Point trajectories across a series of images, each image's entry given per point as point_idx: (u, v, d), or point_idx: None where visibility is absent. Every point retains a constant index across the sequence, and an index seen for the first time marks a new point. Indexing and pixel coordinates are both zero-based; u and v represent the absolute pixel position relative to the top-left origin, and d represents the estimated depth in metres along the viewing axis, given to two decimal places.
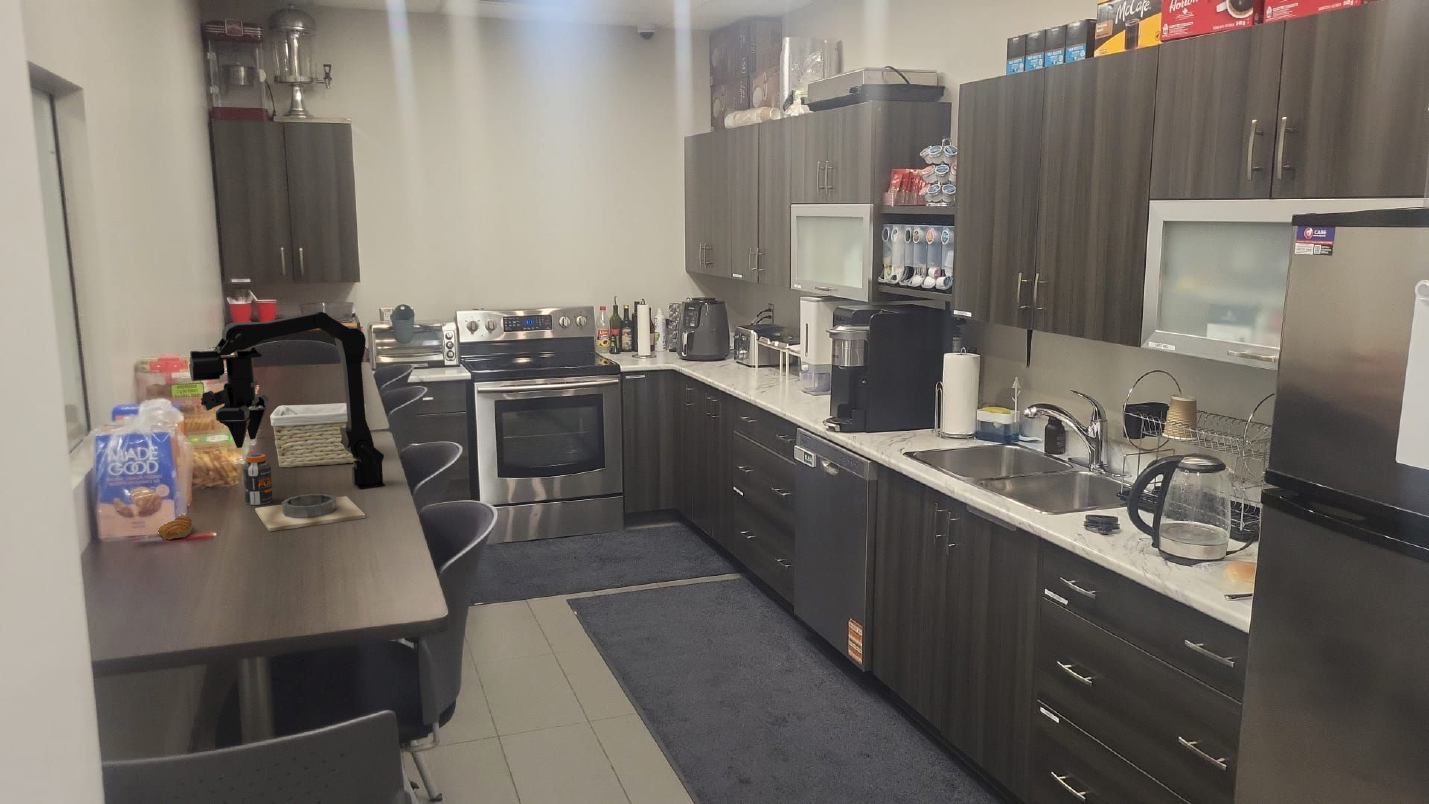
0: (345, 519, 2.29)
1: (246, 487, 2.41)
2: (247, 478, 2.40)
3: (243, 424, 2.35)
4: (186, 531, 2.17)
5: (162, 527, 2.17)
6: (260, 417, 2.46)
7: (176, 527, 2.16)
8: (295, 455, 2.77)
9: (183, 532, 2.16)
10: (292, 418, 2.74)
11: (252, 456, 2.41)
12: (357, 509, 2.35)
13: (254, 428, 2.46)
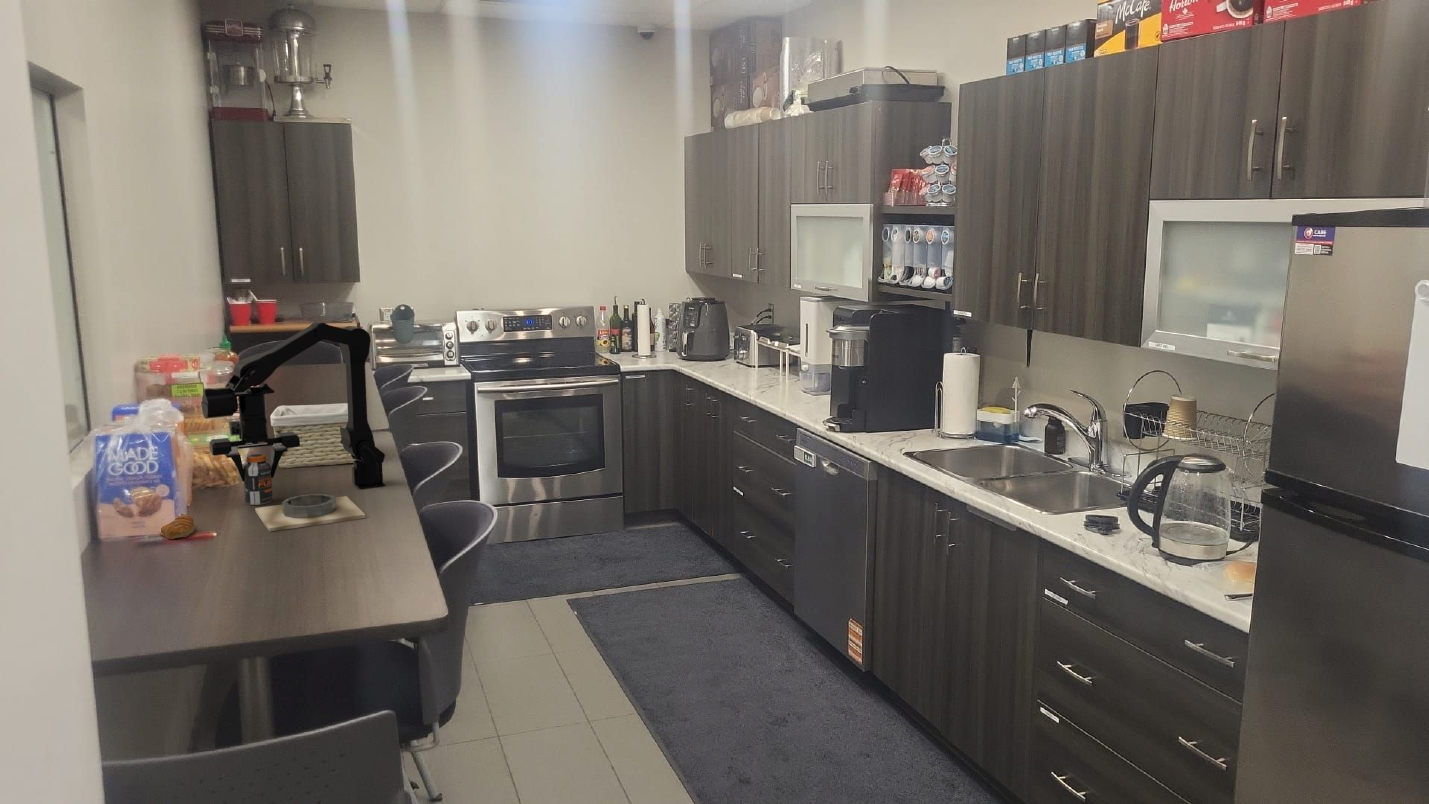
0: (345, 519, 2.29)
1: (246, 487, 2.41)
2: (247, 478, 2.40)
3: None
4: (189, 531, 2.17)
5: (164, 527, 2.17)
6: (273, 457, 2.42)
7: (179, 527, 2.16)
8: (295, 455, 2.77)
9: (186, 531, 2.16)
10: (292, 418, 2.74)
11: (252, 456, 2.41)
12: (357, 509, 2.35)
13: (271, 467, 2.43)
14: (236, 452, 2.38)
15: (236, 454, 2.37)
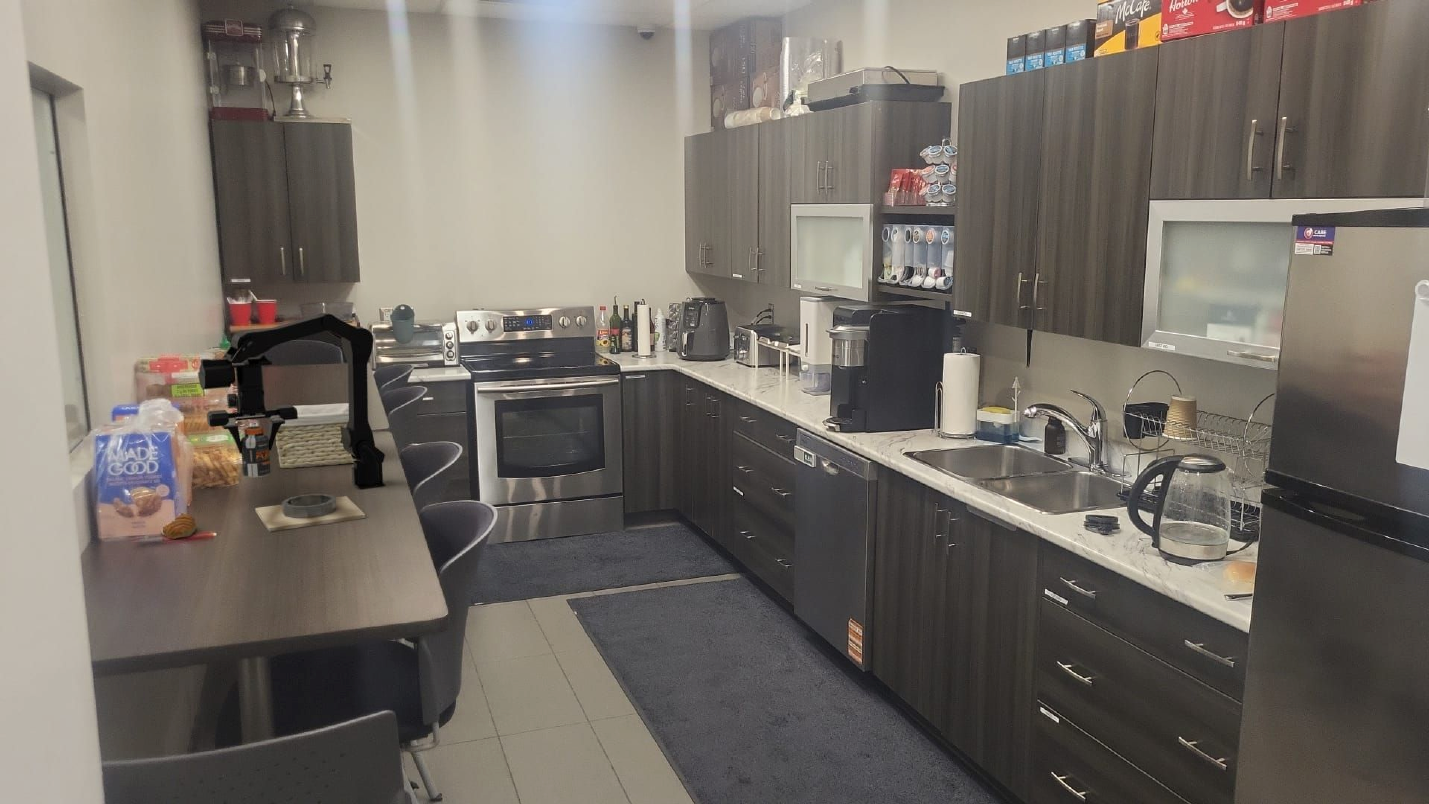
0: (345, 519, 2.29)
1: (244, 459, 2.39)
2: (245, 450, 2.39)
3: None
4: (190, 530, 2.17)
5: (166, 526, 2.17)
6: (271, 429, 2.41)
7: (180, 526, 2.16)
8: (296, 456, 2.76)
9: (187, 531, 2.16)
10: (293, 419, 2.74)
11: (249, 428, 2.40)
12: (357, 509, 2.35)
13: (269, 439, 2.42)
14: (233, 424, 2.36)
15: (233, 426, 2.36)
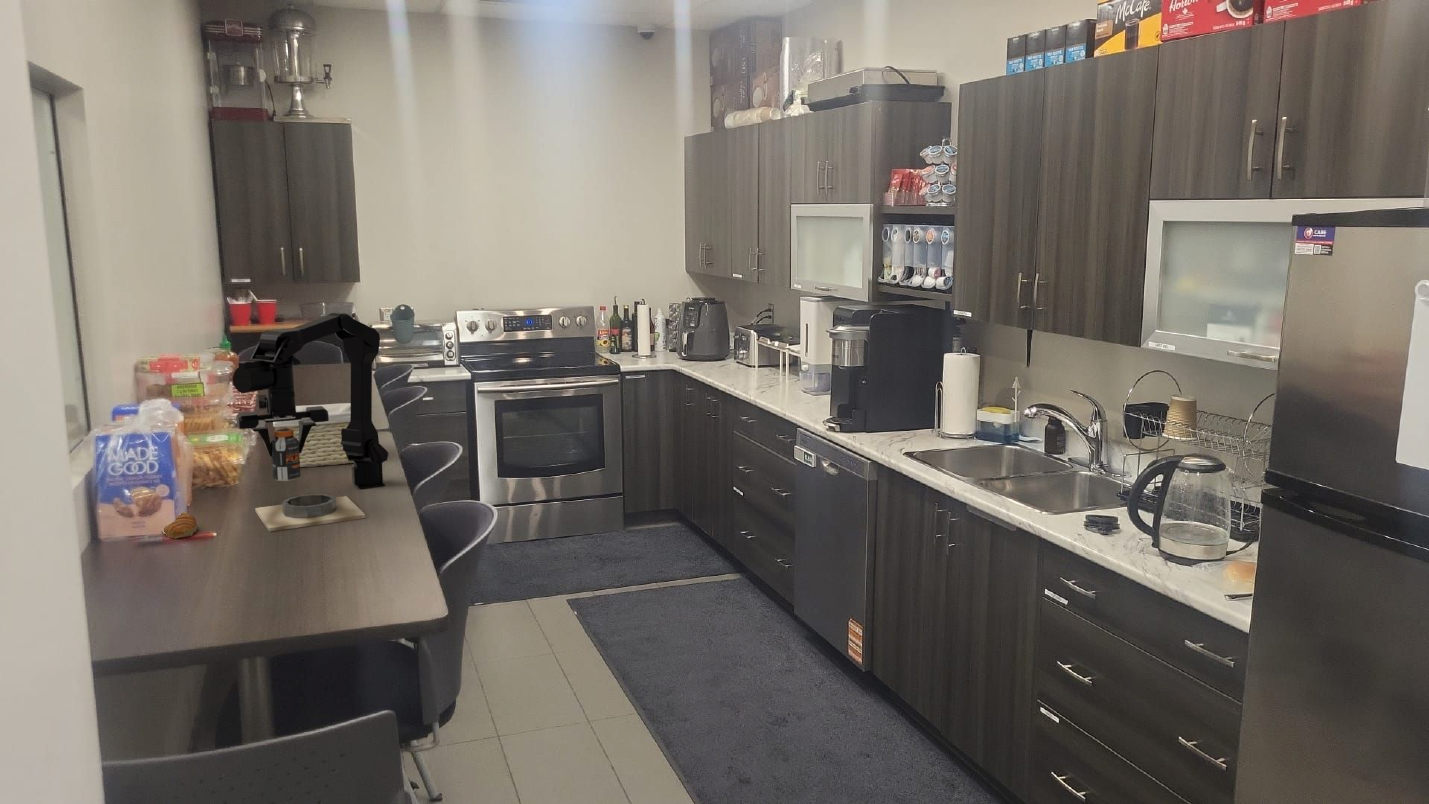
0: (345, 519, 2.29)
1: (273, 462, 2.33)
2: (275, 453, 2.33)
3: None
4: (192, 530, 2.17)
5: (167, 526, 2.17)
6: (301, 432, 2.35)
7: (182, 526, 2.17)
8: None
9: (189, 531, 2.17)
10: None
11: (279, 430, 2.33)
12: (357, 509, 2.35)
13: (299, 442, 2.36)
14: (263, 426, 2.30)
15: (263, 428, 2.30)
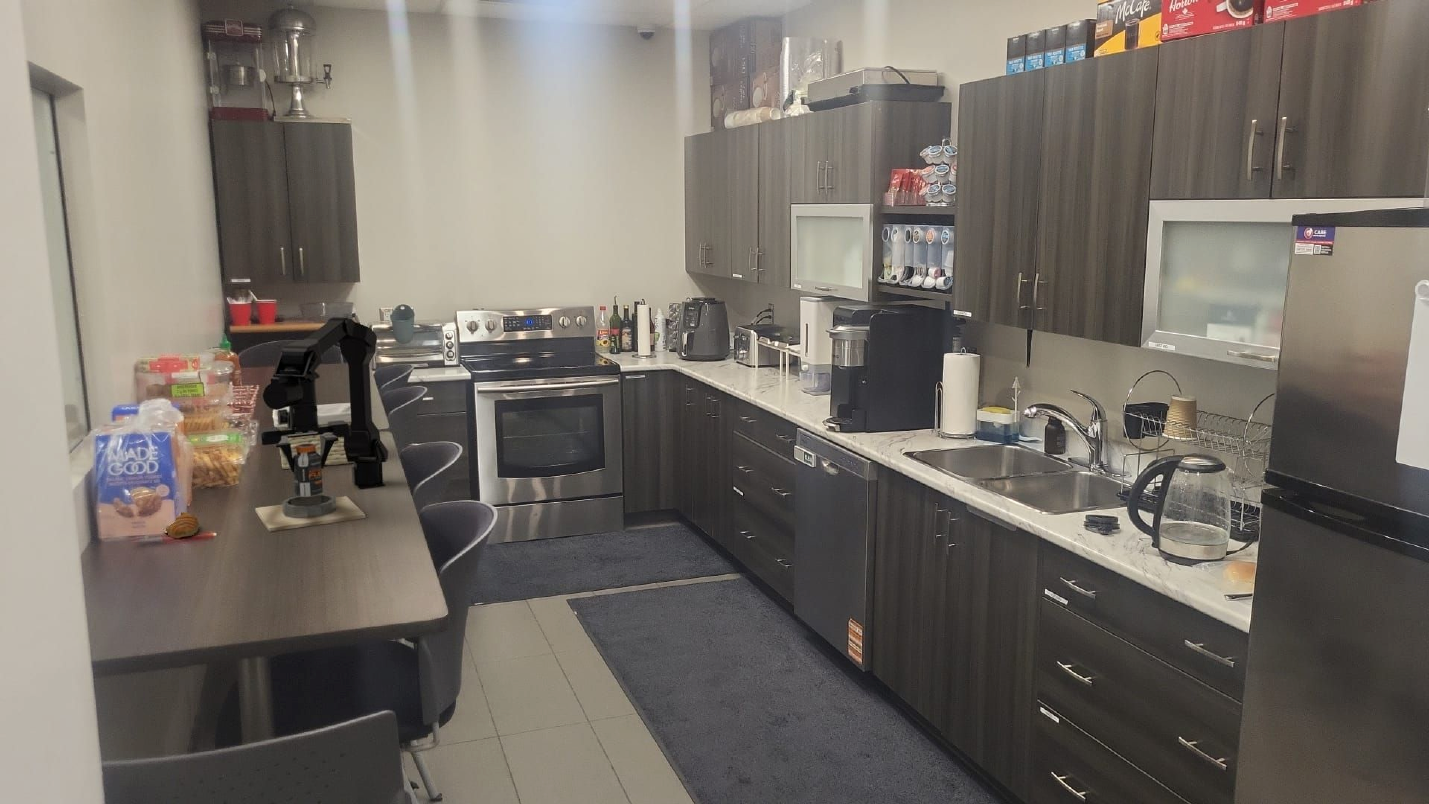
0: (345, 519, 2.29)
1: (296, 478, 2.30)
2: (297, 468, 2.29)
3: None
4: (194, 530, 2.18)
5: (169, 526, 2.17)
6: (324, 447, 2.31)
7: (184, 526, 2.17)
8: None
9: (191, 530, 2.17)
10: None
11: (302, 446, 2.30)
12: (357, 509, 2.35)
13: (321, 457, 2.33)
14: (286, 441, 2.27)
15: (286, 444, 2.26)
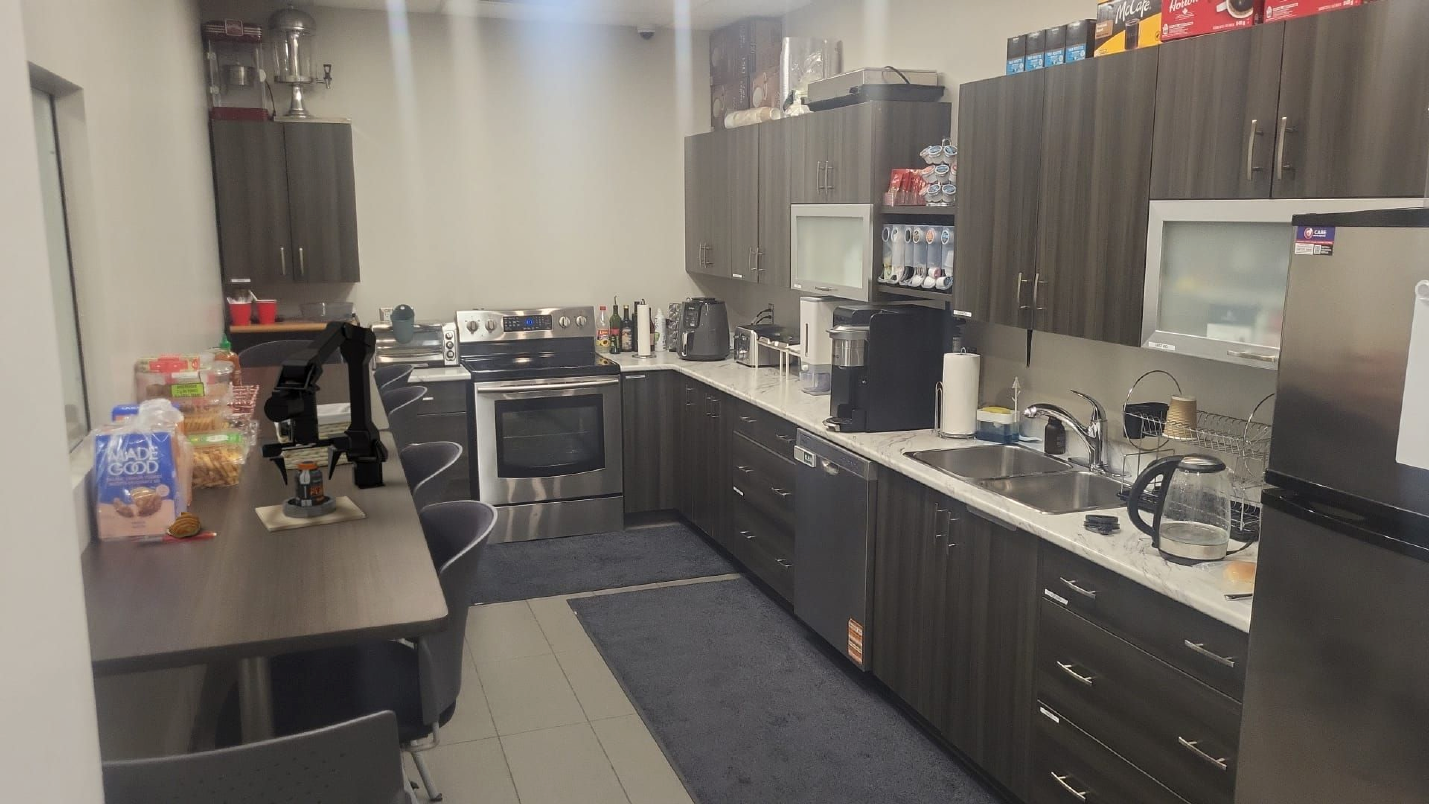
0: (345, 519, 2.29)
1: (297, 495, 2.31)
2: (299, 486, 2.30)
3: None
4: (196, 529, 2.18)
5: (171, 526, 2.18)
6: (331, 459, 2.32)
7: (186, 525, 2.17)
8: (300, 457, 2.75)
9: (193, 530, 2.17)
10: None
11: (303, 463, 2.31)
12: (357, 509, 2.35)
13: (329, 469, 2.34)
14: (279, 455, 2.26)
15: (279, 457, 2.26)
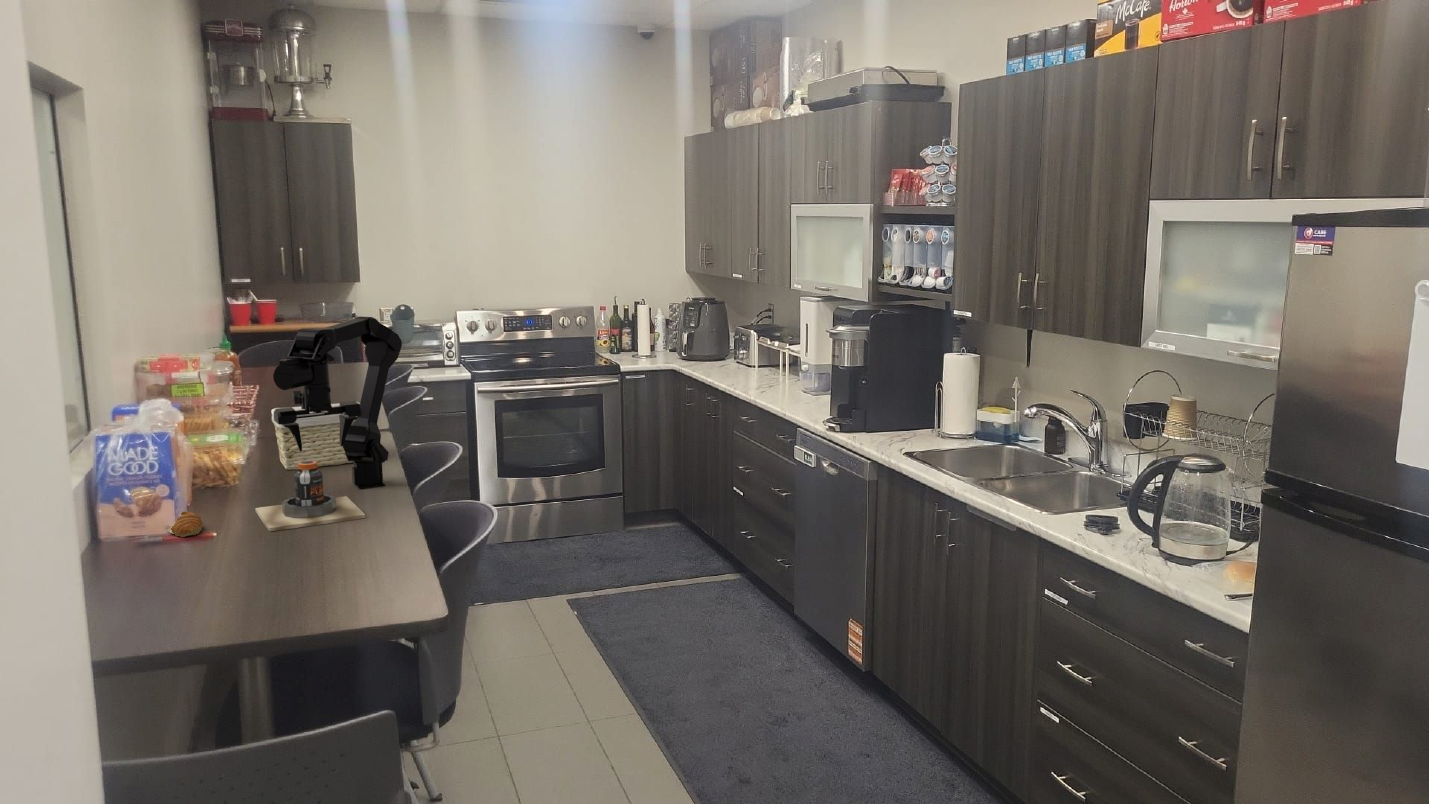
0: (345, 519, 2.29)
1: (297, 495, 2.31)
2: (299, 486, 2.30)
3: None
4: (199, 528, 2.18)
5: (174, 525, 2.18)
6: (343, 425, 2.43)
7: (189, 525, 2.18)
8: (303, 457, 2.75)
9: (196, 529, 2.18)
10: (300, 419, 2.73)
11: (303, 463, 2.31)
12: (357, 509, 2.35)
13: (341, 435, 2.44)
14: (294, 422, 2.37)
15: (294, 424, 2.36)
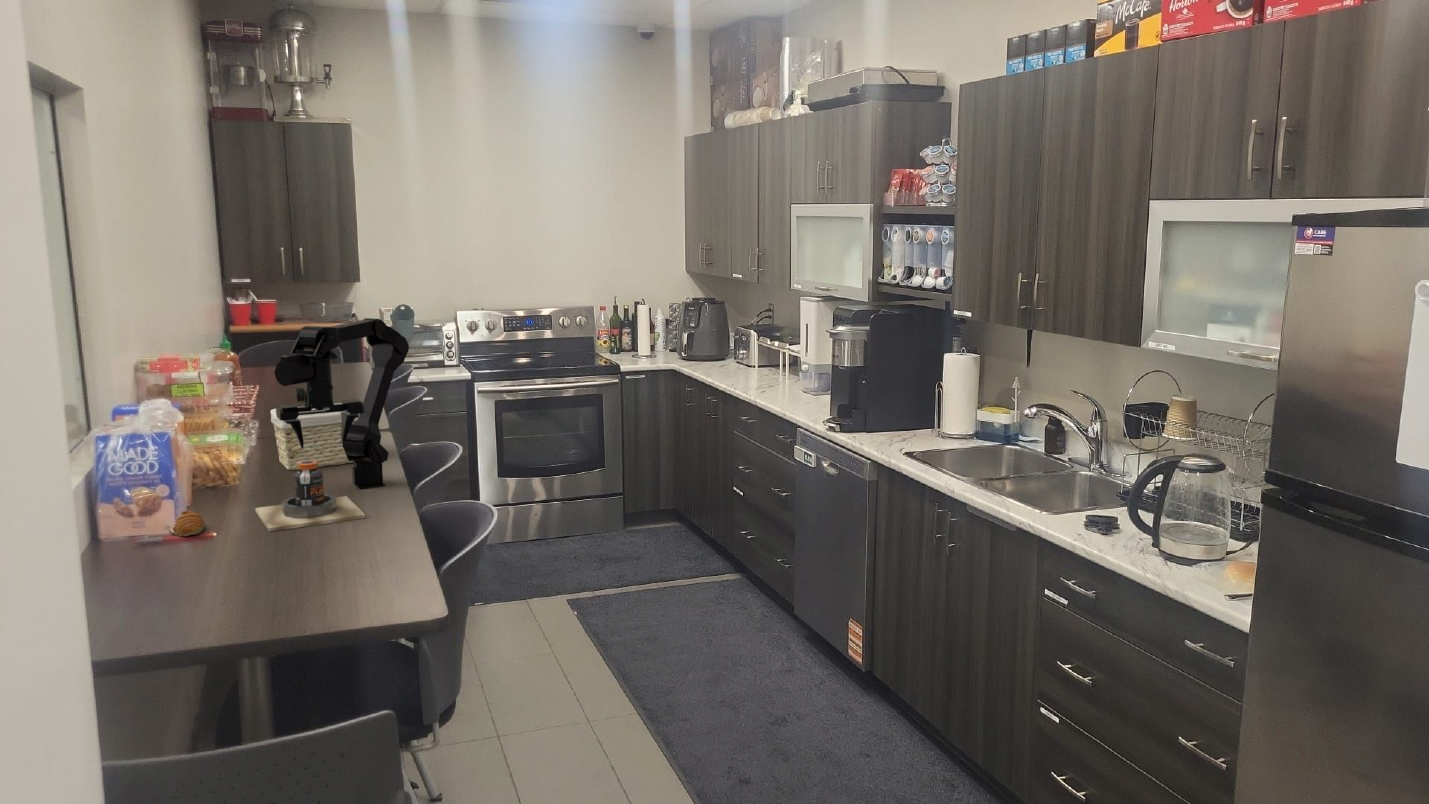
0: (345, 519, 2.29)
1: (297, 495, 2.31)
2: (299, 486, 2.30)
3: None
4: (200, 528, 2.19)
5: (175, 525, 2.18)
6: (345, 423, 2.45)
7: (190, 524, 2.18)
8: (304, 457, 2.75)
9: (198, 529, 2.18)
10: (302, 420, 2.73)
11: (304, 463, 2.31)
12: (357, 509, 2.35)
13: (342, 433, 2.46)
14: (296, 418, 2.39)
15: (296, 420, 2.38)
